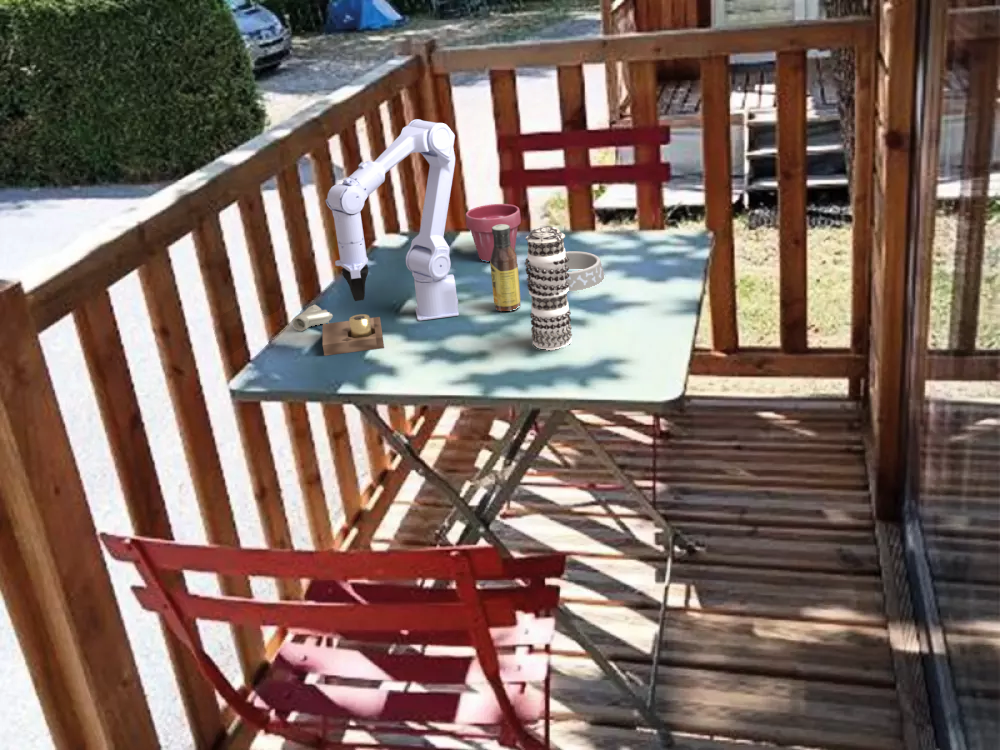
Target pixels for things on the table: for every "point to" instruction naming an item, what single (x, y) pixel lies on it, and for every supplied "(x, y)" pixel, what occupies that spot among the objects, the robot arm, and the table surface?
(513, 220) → the plant pot
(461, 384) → the table surface
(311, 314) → the pipe fitting
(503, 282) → the sauce bottle
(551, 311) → the decorative candle
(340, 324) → the walnut jig plate
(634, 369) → the table surface
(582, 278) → the dog bowl
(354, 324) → the brass bushing
